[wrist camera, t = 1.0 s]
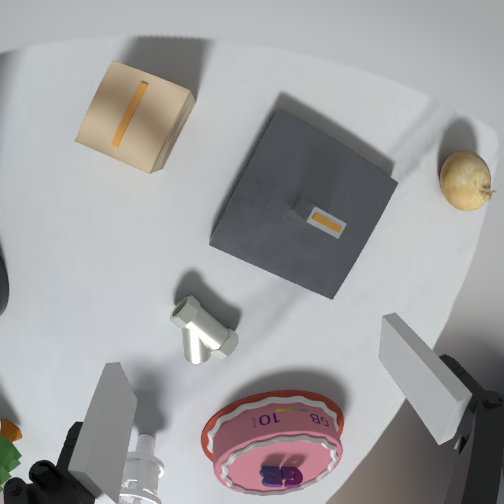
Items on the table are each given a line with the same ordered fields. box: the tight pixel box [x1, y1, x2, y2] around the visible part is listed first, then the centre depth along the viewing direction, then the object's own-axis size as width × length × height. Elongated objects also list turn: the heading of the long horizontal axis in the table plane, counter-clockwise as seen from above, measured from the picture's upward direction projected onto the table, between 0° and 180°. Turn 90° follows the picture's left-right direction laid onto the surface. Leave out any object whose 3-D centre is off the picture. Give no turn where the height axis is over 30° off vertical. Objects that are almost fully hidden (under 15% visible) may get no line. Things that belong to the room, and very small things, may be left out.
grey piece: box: [209, 108, 398, 300], centre depth 32 cm, size 16×16×8 cm
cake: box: [201, 390, 344, 496], centre depth 43 cm, size 25×25×11 cm
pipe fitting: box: [170, 295, 238, 365], centre depth 37 cm, size 8×4×7 cm
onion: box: [439, 150, 496, 211], centre depth 33 cm, size 8×8×7 cm
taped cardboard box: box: [75, 61, 196, 174], centre depth 27 cm, size 8×8×7 cm
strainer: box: [118, 434, 164, 504], centre depth 38 cm, size 7×7×15 cm
